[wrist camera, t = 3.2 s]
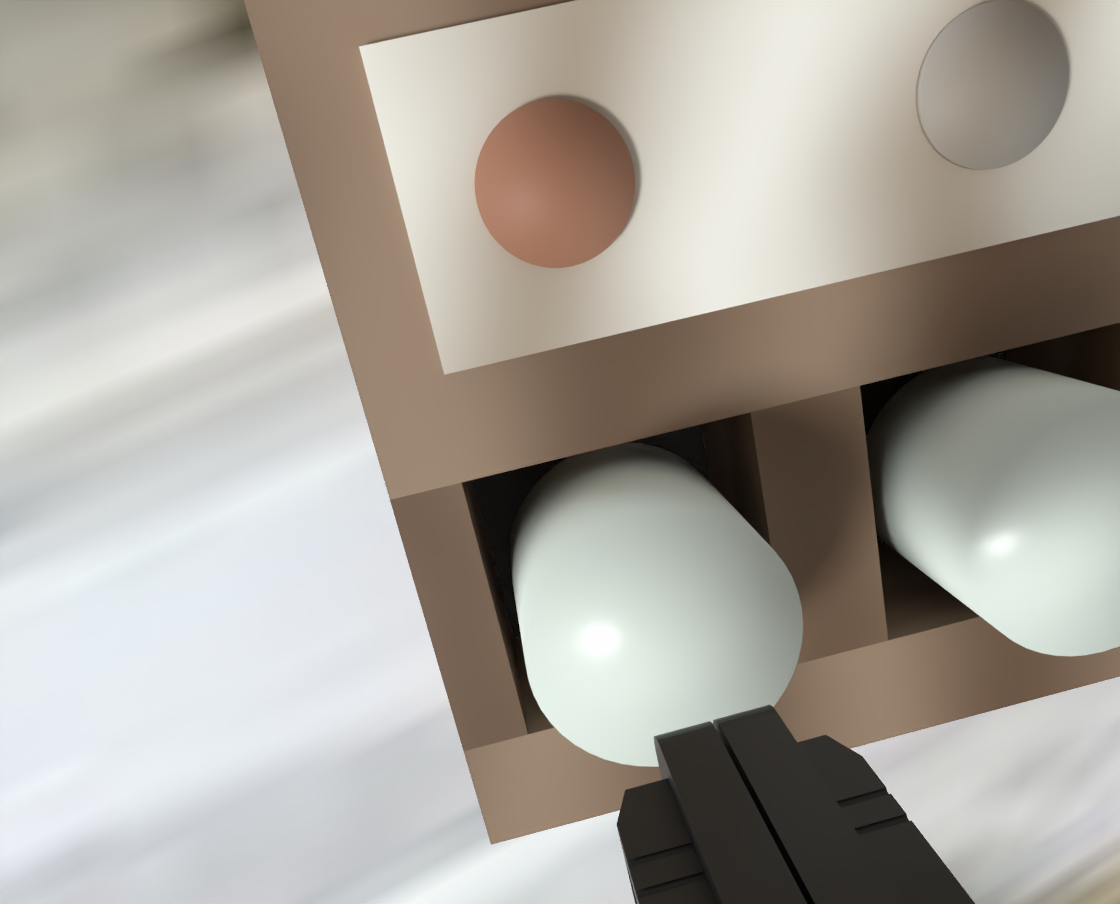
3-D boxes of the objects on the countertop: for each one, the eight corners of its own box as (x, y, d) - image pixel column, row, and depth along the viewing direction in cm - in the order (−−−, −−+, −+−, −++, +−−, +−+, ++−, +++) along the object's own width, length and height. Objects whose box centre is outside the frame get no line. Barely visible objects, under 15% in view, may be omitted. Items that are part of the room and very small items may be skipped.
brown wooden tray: (1375, -189, 18) (1658, -310, 14) (1332, 509, 22) (1531, 578, 18) (290, 41, 16) (235, -15, 12) (484, 729, 21) (491, 857, 17)
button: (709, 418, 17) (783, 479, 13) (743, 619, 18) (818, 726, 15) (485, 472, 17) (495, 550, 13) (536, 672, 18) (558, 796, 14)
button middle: (1060, 333, 17) (1230, 367, 14) (1067, 535, 19) (1225, 619, 15) (847, 385, 17) (959, 436, 13) (870, 587, 19) (978, 684, 15)
